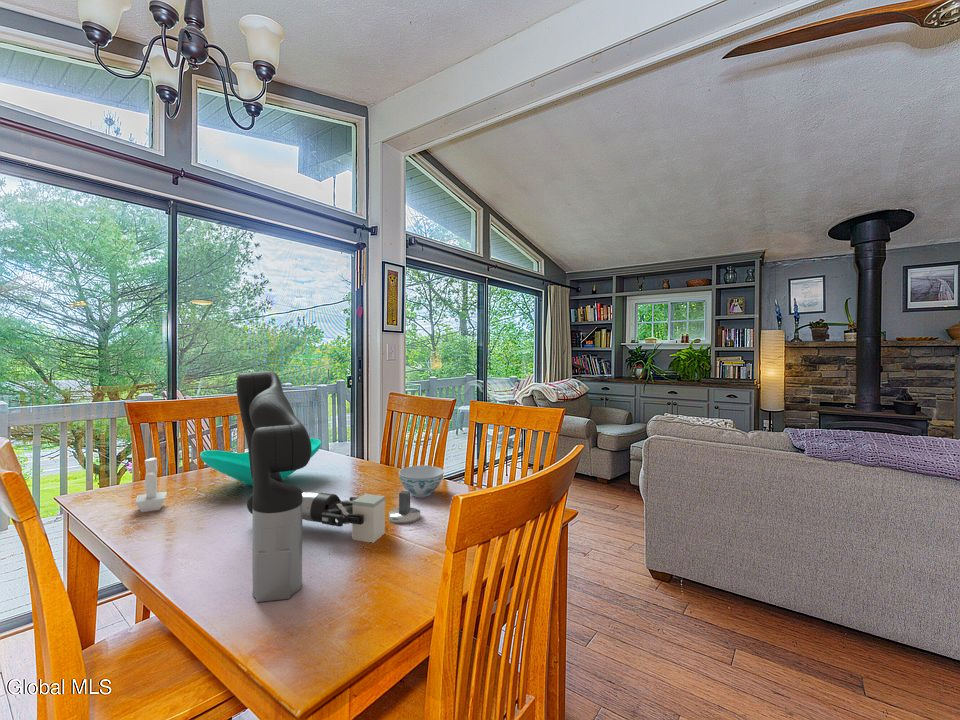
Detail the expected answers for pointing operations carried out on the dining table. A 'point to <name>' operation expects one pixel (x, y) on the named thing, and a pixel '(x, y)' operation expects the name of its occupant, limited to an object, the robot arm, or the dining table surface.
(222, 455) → the table top decor
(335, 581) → the dining table surface
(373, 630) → the dining table surface
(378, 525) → the pale green block
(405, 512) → the grey post on dish
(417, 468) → the chinaware
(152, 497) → the figurine
